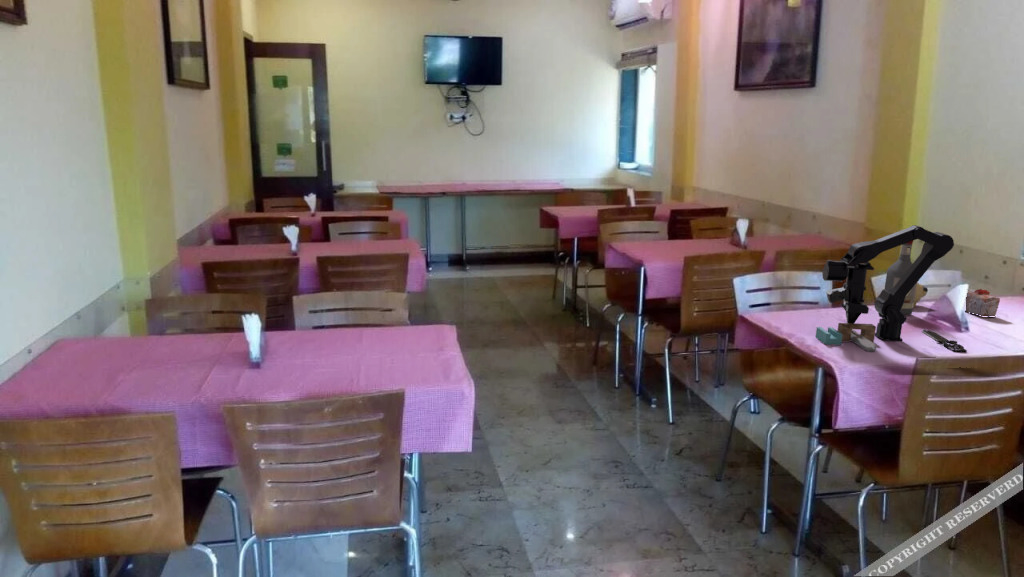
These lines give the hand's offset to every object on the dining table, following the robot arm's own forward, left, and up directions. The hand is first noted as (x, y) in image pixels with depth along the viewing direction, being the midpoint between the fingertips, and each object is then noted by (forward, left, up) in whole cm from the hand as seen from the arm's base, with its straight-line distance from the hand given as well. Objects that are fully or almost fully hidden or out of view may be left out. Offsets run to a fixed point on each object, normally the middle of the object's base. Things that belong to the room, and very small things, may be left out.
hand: (849, 327), depth 257 cm
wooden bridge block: (0, +5, -3) cm, 6 cm away
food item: (-65, -36, -3) cm, 75 cm away
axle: (0, +9, -3) cm, 10 cm away
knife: (-30, +2, -4) cm, 30 cm away
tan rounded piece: (-44, -47, -3) cm, 65 cm away
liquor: (-33, -34, -3) cm, 48 cm away
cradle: (+9, +7, -3) cm, 12 cm away
